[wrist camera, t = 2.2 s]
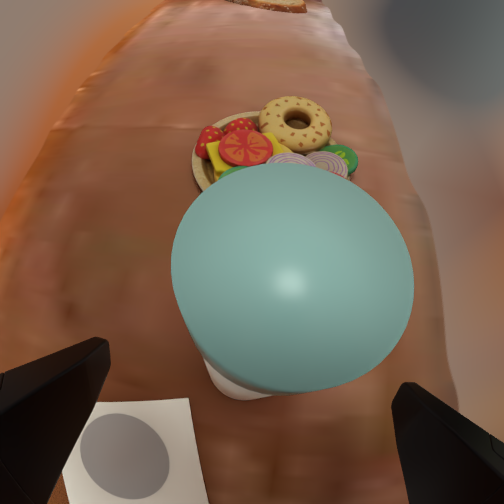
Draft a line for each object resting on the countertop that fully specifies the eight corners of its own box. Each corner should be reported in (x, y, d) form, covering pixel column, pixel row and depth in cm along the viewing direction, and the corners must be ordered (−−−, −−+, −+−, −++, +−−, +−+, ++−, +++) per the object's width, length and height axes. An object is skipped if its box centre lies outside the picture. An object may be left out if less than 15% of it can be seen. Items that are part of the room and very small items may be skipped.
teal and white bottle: (287, 394, 17) (441, 351, 5) (212, 407, 16) (186, 412, 4) (273, 325, 19) (367, 161, 7) (201, 335, 18) (167, 171, 6)
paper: (222, 555, 11) (222, 557, 11) (86, 550, 10) (84, 551, 10) (188, 397, 16) (188, 397, 16) (53, 400, 15) (51, 400, 15)
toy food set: (308, 114, 30) (314, 89, 27) (377, 214, 24) (394, 190, 21) (178, 135, 27) (175, 107, 24) (220, 259, 21) (220, 234, 18)
